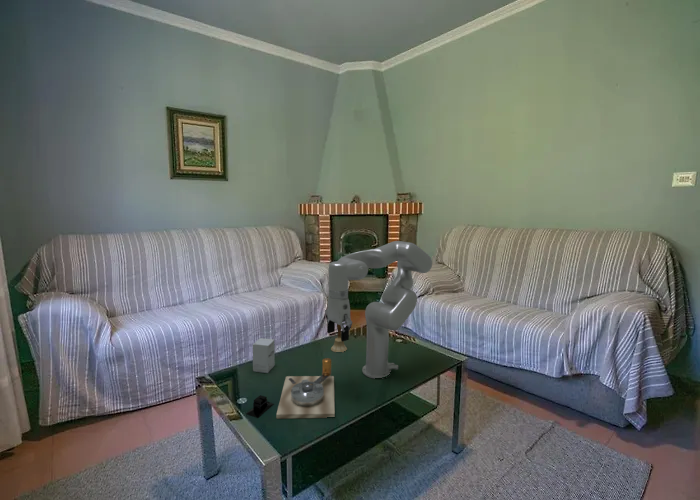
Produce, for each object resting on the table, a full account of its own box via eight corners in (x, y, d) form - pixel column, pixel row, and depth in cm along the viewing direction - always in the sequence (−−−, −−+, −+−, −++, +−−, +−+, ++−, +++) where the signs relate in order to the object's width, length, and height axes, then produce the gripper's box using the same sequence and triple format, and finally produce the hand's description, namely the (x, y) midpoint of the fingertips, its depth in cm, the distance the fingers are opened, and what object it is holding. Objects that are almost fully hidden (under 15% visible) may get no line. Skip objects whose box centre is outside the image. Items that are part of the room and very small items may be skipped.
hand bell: (346, 353, 170) (347, 322, 168) (330, 352, 170) (330, 321, 168) (347, 346, 178) (347, 316, 176) (331, 345, 179) (331, 316, 176)
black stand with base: (256, 423, 116) (256, 410, 115) (240, 417, 119) (239, 404, 118) (278, 403, 127) (278, 392, 127) (263, 398, 130) (262, 387, 130)
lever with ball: (312, 410, 120) (312, 386, 119) (284, 400, 125) (284, 378, 124) (341, 382, 139) (341, 361, 138) (316, 374, 145) (316, 355, 143)
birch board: (333, 379, 145) (333, 375, 144) (334, 417, 119) (334, 413, 119) (286, 379, 143) (286, 375, 143) (276, 418, 118) (276, 414, 117)
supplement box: (268, 373, 148) (267, 345, 147) (252, 371, 150) (251, 344, 148) (275, 365, 155) (275, 339, 154) (260, 363, 157) (259, 337, 155)
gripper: (359, 297, 127) (358, 341, 129) (334, 287, 140) (333, 327, 143) (343, 300, 122) (342, 346, 125) (318, 290, 136) (318, 331, 139)
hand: (337, 336), depth 134 cm, fingers open, 9 cm apart
